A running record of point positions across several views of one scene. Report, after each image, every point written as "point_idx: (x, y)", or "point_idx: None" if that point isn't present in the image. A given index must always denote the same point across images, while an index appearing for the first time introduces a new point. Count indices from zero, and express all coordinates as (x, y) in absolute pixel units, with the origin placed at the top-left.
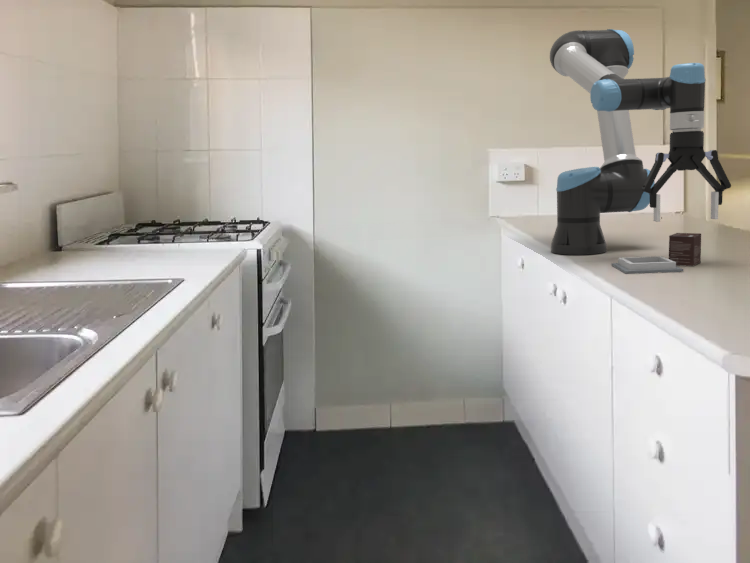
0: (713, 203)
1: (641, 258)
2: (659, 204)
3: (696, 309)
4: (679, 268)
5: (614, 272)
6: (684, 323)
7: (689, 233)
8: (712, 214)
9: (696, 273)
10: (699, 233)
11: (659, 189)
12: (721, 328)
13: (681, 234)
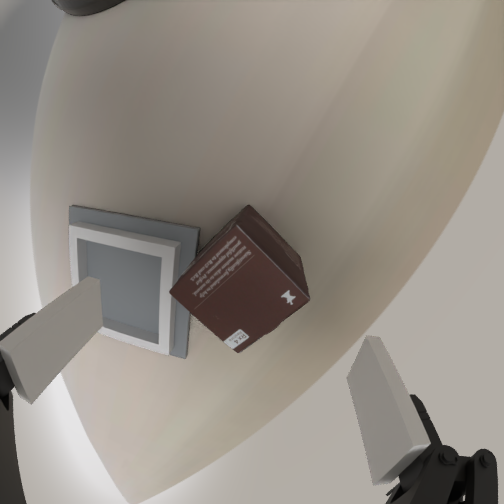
0: (372, 417)
1: (117, 246)
2: (57, 370)
3: (131, 476)
4: (181, 349)
5: None
6: (116, 483)
7: (270, 277)
8: (363, 367)
9: (204, 378)
10: (304, 298)
11: (12, 419)
12: (135, 494)
13: (225, 287)
